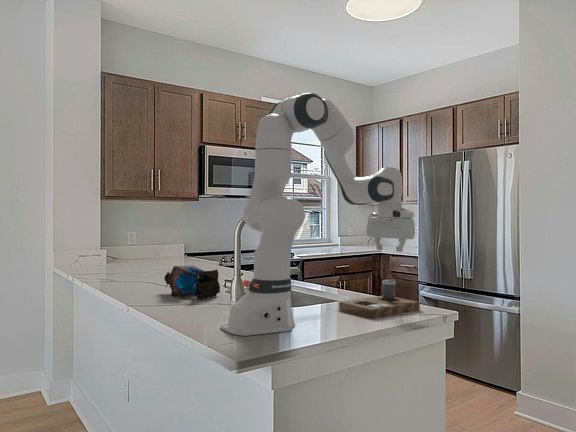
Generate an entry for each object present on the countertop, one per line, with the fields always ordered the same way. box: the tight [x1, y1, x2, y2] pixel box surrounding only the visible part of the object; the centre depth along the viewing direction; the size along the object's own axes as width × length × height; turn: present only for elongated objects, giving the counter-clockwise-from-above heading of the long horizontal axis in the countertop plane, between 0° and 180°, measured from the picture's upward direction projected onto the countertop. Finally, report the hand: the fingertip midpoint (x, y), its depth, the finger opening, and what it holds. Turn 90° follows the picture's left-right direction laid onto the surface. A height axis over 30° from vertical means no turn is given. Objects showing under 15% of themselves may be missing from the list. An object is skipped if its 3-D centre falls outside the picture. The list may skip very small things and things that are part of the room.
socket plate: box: [338, 295, 421, 320], centre depth 160 cm, size 24×16×3 cm, turn 126°
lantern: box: [164, 265, 221, 301], centre depth 186 cm, size 16×16×25 cm
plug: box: [382, 279, 396, 302], centre depth 164 cm, size 5×5×10 cm
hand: (389, 250), depth 164 cm, fingers open, 8 cm apart
